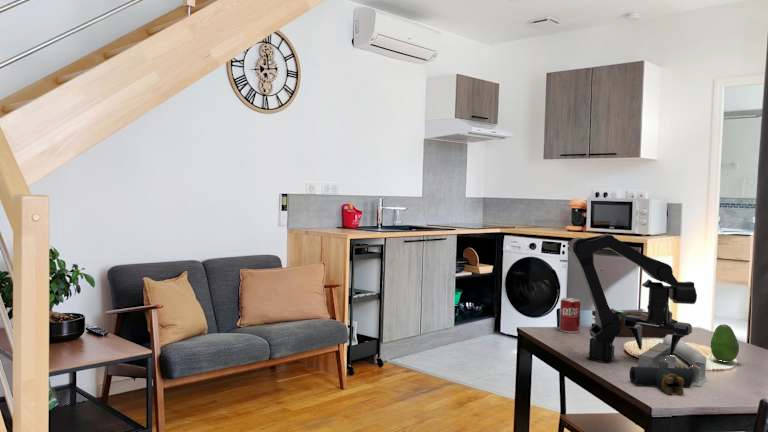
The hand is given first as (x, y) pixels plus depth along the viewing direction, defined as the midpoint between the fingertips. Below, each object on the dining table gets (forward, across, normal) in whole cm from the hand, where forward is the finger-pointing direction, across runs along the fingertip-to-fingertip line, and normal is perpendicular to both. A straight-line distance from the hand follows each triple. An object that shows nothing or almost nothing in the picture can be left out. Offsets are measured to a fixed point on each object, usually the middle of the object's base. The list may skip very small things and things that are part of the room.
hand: (655, 352), depth 193 cm
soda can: (+4, +37, -23) cm, 44 cm away
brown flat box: (+4, +19, -40) cm, 44 cm away
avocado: (+4, -16, -17) cm, 24 cm away
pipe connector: (+4, -9, +25) cm, 27 cm away
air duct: (+3, 0, 0) cm, 3 cm away
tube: (+4, -6, -13) cm, 14 cm away
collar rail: (+3, -11, +13) cm, 17 cm away
